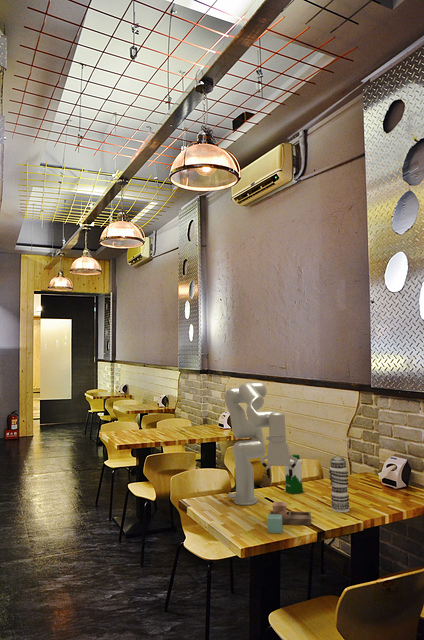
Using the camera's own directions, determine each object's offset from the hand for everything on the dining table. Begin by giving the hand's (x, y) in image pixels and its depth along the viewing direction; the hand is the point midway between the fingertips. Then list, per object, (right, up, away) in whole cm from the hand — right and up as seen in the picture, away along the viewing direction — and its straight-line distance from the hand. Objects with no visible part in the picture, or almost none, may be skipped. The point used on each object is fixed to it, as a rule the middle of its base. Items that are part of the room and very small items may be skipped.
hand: (279, 477), depth 214 cm
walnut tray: (+5, -21, +2) cm, 21 cm away
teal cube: (-3, -20, -9) cm, 22 cm away
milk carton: (+15, -25, +49) cm, 57 cm away
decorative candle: (+32, -21, +16) cm, 42 cm away
